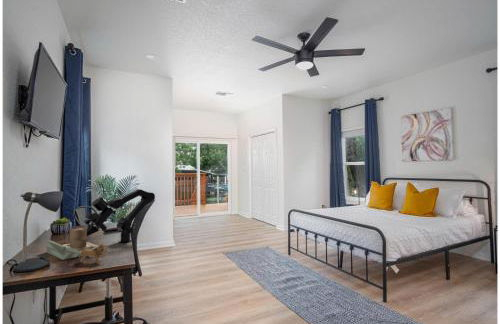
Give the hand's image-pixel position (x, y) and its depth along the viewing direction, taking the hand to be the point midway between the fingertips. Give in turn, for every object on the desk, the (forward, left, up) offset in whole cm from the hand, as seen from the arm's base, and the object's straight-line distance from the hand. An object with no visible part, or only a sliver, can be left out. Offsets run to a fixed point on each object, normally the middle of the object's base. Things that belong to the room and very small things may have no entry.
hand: (84, 236), depth 172 cm
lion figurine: (+20, +20, -8) cm, 29 cm away
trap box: (+4, -2, -8) cm, 9 cm away
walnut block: (+3, -2, -5) cm, 6 cm away
